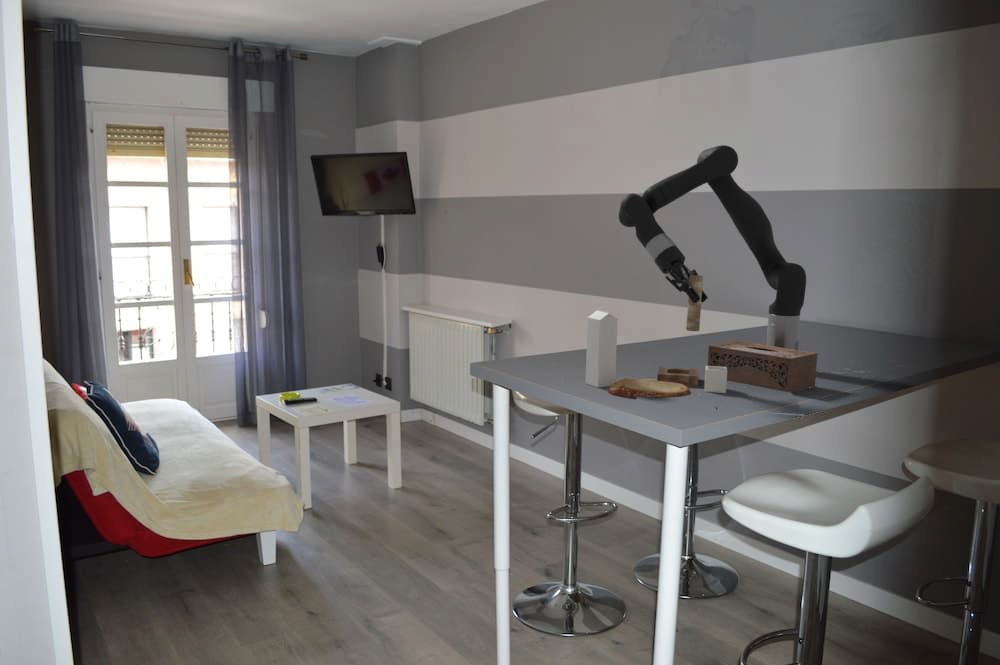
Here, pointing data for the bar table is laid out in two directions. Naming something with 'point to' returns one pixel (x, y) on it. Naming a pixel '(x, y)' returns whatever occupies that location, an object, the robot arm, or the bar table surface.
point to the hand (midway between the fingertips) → (701, 300)
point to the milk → (601, 348)
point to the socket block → (678, 376)
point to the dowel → (694, 304)
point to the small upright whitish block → (715, 379)
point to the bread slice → (647, 388)
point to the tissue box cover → (765, 365)
